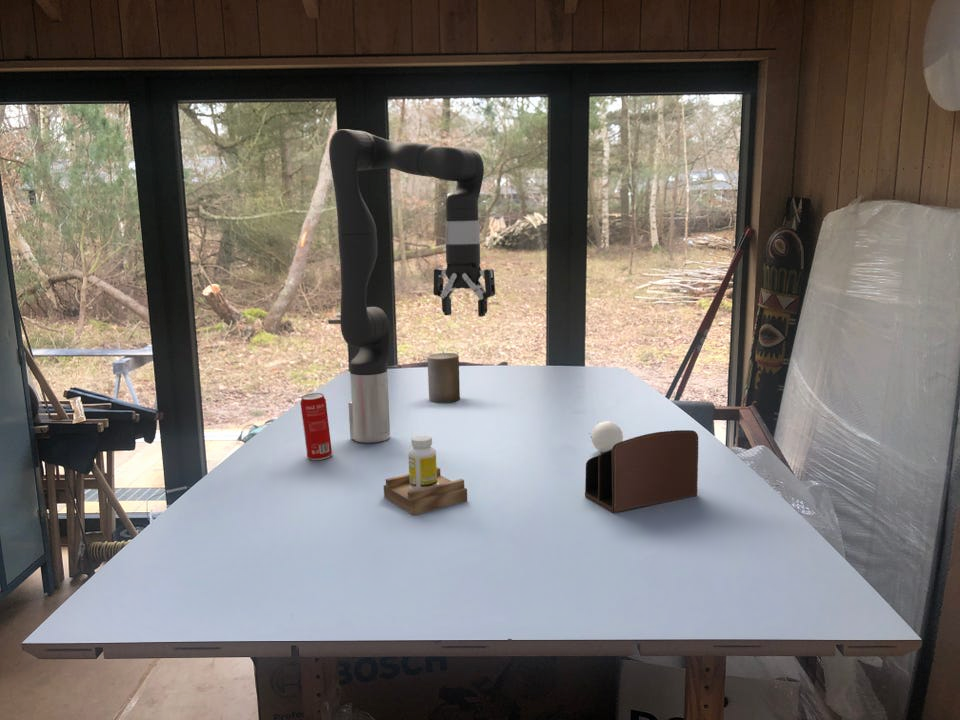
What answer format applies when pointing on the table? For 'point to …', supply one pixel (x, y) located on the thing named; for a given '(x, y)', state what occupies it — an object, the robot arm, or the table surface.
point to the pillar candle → (443, 377)
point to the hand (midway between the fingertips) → (464, 315)
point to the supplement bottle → (422, 463)
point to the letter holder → (644, 471)
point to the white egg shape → (606, 436)
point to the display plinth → (424, 494)
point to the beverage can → (316, 426)
